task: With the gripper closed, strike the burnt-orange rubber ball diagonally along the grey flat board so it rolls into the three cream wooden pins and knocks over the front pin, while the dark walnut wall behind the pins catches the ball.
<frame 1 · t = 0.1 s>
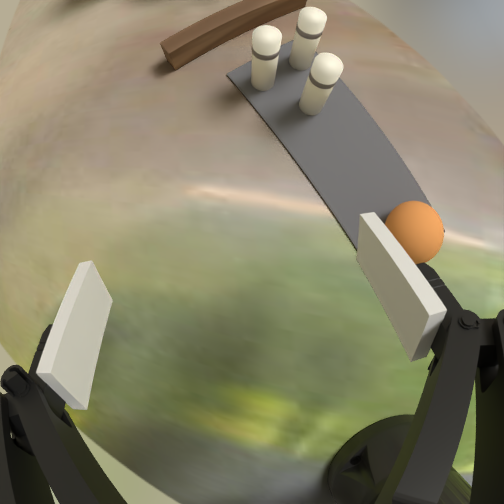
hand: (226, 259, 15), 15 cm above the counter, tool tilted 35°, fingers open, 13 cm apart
back wall: (239, 27, 30), on the counter
grey flat board: (343, 148, 30), on the counter
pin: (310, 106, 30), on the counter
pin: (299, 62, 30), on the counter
ball: (414, 232, 27), on the counter
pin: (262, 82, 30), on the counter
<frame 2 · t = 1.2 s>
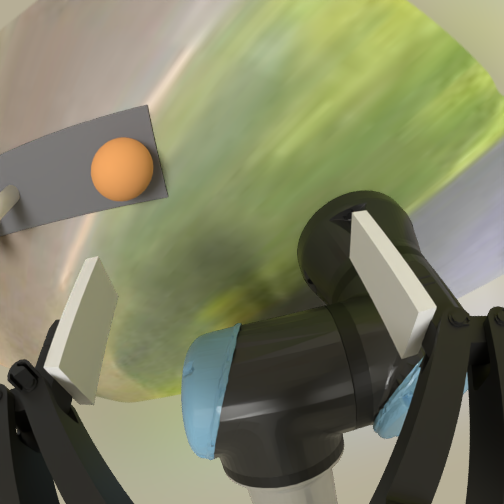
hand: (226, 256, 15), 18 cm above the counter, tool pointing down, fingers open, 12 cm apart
grey flat board: (46, 181, 29), on the counter
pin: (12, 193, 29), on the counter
ball: (121, 169, 27), on the counter
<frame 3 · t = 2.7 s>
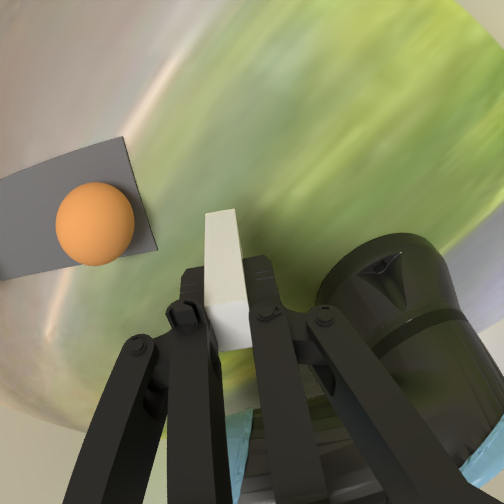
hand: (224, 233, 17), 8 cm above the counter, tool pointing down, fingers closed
grey flat board: (13, 230, 23), on the counter
ball: (94, 223, 21), on the counter
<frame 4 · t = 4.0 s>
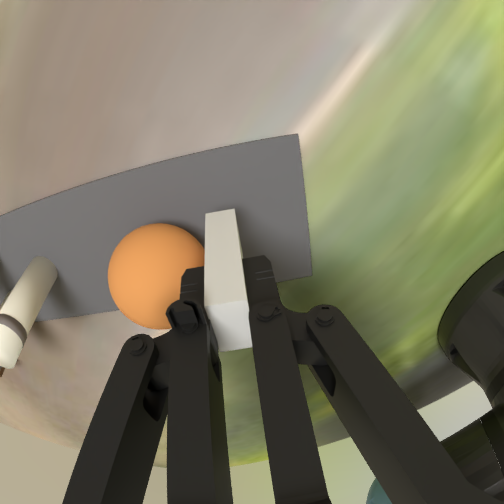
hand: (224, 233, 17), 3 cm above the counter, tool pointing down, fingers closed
grey flat board: (104, 253, 20), on the counter
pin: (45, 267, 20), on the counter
ball: (159, 276, 18), on the counter
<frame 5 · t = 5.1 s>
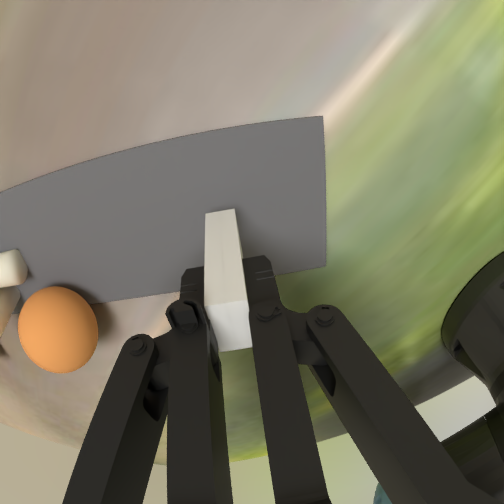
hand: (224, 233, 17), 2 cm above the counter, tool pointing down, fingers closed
grey flat board: (104, 237, 18), on the counter
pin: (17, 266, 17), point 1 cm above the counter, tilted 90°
ball: (57, 329, 18), on the counter
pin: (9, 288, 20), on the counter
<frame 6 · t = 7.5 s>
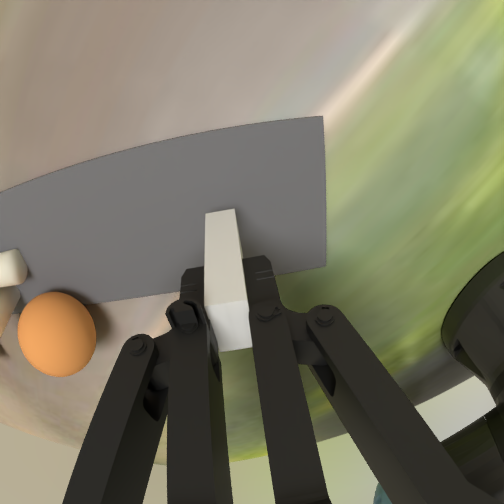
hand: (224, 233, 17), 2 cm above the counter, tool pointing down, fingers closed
grey flat board: (104, 237, 18), on the counter
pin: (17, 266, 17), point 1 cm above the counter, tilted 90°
ball: (56, 334, 19), on the counter
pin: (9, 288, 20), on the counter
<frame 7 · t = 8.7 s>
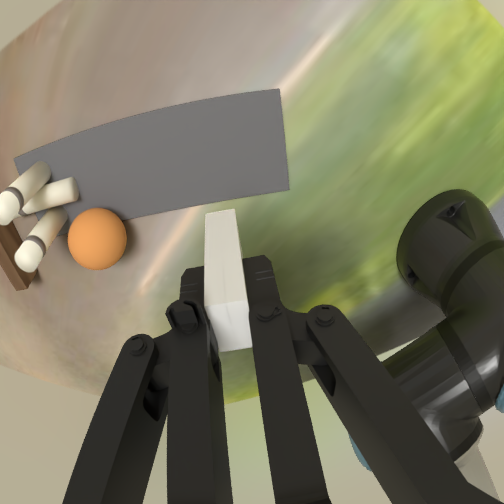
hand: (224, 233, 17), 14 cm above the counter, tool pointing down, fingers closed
back wall: (0, 210, 28), on the counter
grey flat board: (140, 167, 28), on the counter
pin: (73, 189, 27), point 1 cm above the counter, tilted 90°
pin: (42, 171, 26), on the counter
ball: (97, 238, 28), on the counter
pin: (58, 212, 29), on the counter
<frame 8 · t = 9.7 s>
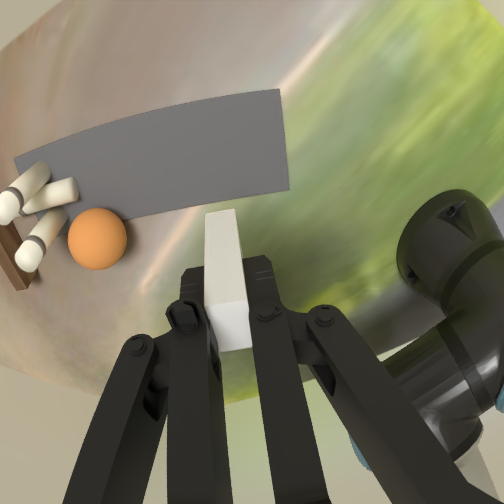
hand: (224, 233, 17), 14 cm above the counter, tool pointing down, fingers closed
back wall: (0, 210, 28), on the counter
grey flat board: (140, 167, 28), on the counter
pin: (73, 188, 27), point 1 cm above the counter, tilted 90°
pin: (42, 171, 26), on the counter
ball: (97, 238, 28), on the counter
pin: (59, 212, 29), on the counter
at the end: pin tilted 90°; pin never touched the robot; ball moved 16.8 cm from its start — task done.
